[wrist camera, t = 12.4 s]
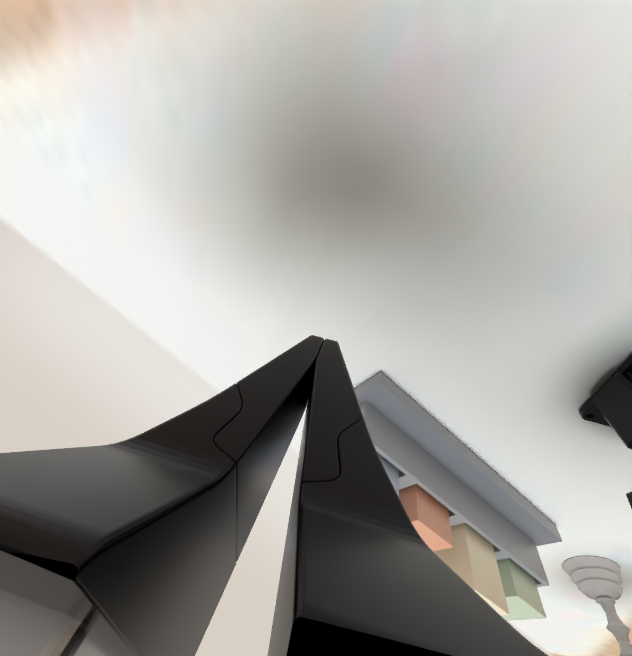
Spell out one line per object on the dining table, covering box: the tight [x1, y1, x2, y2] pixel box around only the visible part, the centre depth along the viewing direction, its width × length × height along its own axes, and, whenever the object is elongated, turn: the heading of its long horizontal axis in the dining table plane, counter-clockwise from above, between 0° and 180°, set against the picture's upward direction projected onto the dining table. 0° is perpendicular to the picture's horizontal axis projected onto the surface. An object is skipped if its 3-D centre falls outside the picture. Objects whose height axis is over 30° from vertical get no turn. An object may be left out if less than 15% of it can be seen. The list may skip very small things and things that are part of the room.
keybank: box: [354, 371, 562, 587], centre depth 28 cm, size 25×10×5 cm, turn 50°
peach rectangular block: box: [399, 483, 453, 551], centre depth 25 cm, size 4×4×6 cm
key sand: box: [433, 523, 510, 616], centre depth 25 cm, size 4×4×6 cm
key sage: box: [497, 558, 546, 621], centre depth 28 cm, size 4×4×6 cm
